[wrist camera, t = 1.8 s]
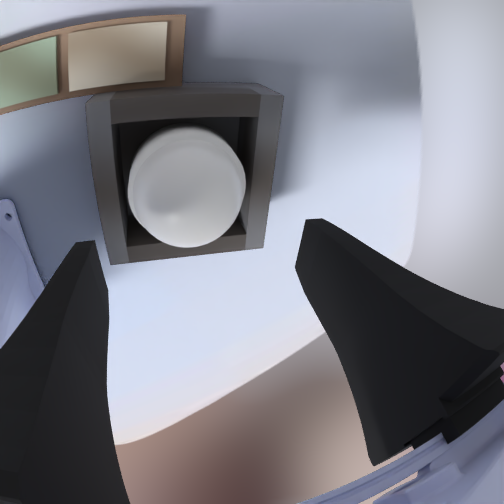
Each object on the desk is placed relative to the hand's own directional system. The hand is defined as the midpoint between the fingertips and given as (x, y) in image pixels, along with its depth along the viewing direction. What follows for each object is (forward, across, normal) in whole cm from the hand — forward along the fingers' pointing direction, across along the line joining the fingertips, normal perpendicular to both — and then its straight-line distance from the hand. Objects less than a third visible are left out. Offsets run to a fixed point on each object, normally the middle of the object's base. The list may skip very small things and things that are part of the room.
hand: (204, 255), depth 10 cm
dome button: (+6, 0, 0) cm, 6 cm away
